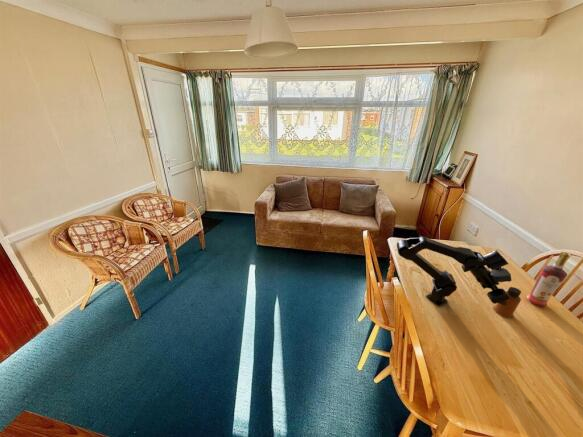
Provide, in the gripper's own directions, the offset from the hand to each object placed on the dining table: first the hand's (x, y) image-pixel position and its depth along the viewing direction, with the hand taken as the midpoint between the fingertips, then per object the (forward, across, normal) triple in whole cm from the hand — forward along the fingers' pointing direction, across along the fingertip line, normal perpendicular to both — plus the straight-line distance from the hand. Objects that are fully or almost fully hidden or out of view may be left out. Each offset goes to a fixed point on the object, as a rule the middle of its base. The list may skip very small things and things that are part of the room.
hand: (500, 297), depth 101 cm
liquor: (+21, +11, -10) cm, 25 cm away
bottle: (+8, 0, +3) cm, 9 cm away
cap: (-1, 0, -6) cm, 6 cm away
